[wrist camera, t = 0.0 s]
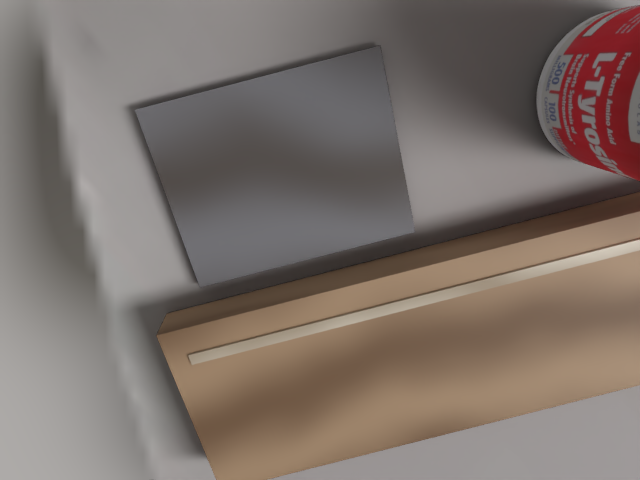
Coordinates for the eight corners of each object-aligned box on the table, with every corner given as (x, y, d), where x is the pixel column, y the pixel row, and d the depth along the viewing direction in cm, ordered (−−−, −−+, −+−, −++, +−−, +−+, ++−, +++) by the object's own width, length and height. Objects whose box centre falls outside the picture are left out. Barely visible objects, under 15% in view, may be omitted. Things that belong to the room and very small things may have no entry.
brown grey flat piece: (744, 328, 25) (783, 350, 23) (225, 460, 26) (220, 492, 24) (768, -57, 19) (824, -71, 17) (89, 121, 20) (68, 127, 18)
